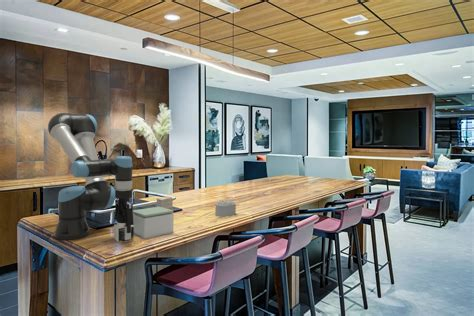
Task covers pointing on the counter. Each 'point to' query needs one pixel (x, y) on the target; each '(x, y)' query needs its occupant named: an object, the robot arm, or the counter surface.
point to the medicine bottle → (122, 230)
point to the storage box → (153, 225)
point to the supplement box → (165, 202)
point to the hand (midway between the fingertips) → (123, 237)
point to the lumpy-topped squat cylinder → (225, 208)
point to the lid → (152, 211)
